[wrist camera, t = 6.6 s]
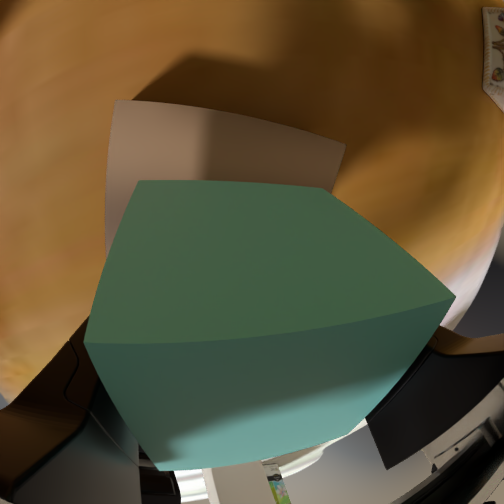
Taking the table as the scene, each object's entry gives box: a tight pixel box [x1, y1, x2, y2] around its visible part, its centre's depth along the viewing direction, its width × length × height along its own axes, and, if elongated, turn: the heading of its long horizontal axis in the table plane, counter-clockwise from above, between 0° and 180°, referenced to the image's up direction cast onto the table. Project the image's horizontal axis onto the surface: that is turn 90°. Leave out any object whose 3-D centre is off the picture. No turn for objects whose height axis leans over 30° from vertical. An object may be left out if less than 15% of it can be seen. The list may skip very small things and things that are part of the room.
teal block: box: [83, 180, 456, 471], centre depth 7 cm, size 6×6×6 cm
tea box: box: [263, 464, 291, 504], centre depth 47 cm, size 15×10×15 cm
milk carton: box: [202, 460, 276, 504], centre depth 26 cm, size 7×7×19 cm
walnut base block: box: [105, 100, 346, 260], centre depth 14 cm, size 10×10×4 cm
